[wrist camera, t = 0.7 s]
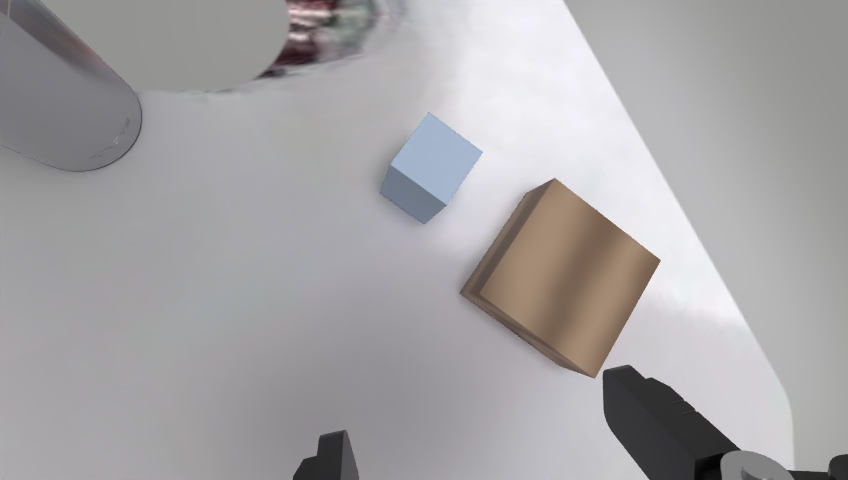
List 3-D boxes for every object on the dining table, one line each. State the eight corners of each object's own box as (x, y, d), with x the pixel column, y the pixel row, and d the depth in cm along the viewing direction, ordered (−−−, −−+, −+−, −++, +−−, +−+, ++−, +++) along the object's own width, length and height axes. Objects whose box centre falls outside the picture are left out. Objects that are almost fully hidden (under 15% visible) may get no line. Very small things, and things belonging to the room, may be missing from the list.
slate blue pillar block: (379, 193, 38) (390, 164, 30) (409, 151, 39) (428, 111, 31) (423, 224, 39) (446, 205, 30) (452, 182, 40) (483, 152, 31)
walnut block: (458, 293, 39) (478, 293, 33) (525, 193, 41) (554, 178, 35) (558, 365, 40) (594, 378, 34) (617, 264, 42) (660, 260, 36)
